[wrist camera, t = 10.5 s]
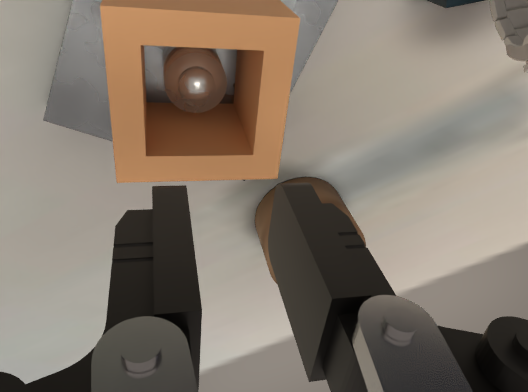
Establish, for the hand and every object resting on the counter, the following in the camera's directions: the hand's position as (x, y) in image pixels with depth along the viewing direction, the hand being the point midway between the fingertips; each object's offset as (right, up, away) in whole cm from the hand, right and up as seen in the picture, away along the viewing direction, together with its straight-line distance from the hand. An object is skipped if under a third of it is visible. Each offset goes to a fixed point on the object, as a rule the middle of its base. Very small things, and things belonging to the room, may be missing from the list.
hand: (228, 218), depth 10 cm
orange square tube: (-2, +6, +9) cm, 12 cm away
